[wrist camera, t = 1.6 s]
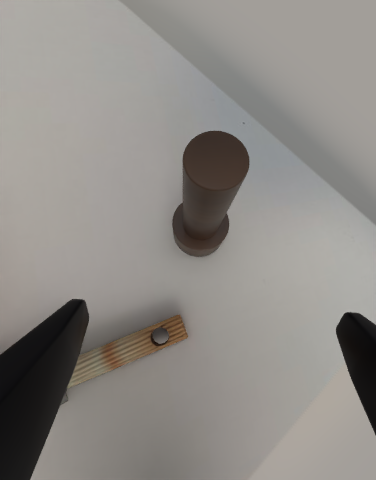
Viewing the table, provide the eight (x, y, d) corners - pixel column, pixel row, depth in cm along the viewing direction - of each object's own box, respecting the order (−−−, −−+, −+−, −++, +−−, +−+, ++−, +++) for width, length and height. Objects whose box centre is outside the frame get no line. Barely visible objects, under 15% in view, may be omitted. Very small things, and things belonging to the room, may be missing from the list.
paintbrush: (-122, 419, 15) (176, 303, 18) (-79, 401, 18) (175, 303, 21) (-116, 487, 15) (195, 355, 17) (-72, 459, 17) (192, 348, 20)
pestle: (224, 255, 21) (274, 207, 10) (174, 257, 21) (164, 210, 10) (221, 208, 22) (263, 112, 11) (173, 209, 22) (162, 114, 11)
